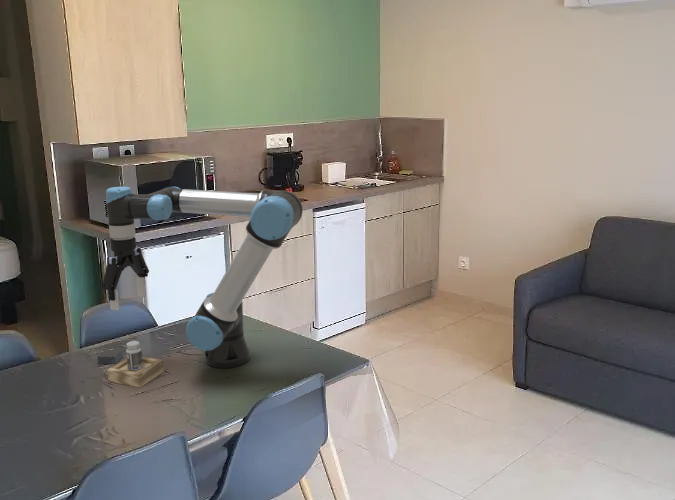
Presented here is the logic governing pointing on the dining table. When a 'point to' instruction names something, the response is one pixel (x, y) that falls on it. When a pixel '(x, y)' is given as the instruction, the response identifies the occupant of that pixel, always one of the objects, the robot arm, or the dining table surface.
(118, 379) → the stand
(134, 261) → the robot arm
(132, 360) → the pill bottle
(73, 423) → the dining table surface
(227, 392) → the dining table surface
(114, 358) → the black tin
